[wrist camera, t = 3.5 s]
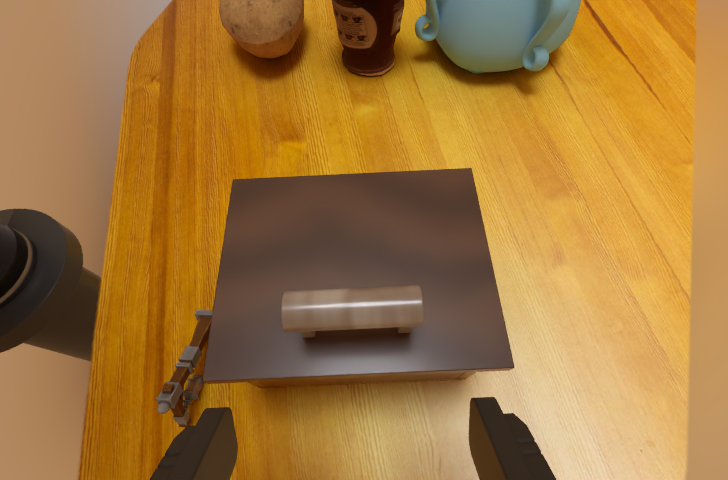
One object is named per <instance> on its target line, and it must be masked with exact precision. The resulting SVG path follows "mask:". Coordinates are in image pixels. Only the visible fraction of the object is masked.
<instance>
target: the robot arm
mask: <svg viewBox="0 0 728 480" xmlns="http://www.w3.org/2000/svg"><path fill="white" fill-rule="evenodd" d="M36 261H37V251H36V247H35V245H34V243H33V241H32V240H31V239H30V238H29V237H28V236H26V235H24V234H23V233H21V232H19V231H18V230H15V229H13V228H10V227H9V226H7V225H5V224H3V223H2V222H0V309H1V308H2V307H3V306H5V305H6V304H8V303H9V302H10V301H11V300H13V299H14V298H15V297H16V296H17V295H18V294H19V293H20V292H21V291H22V289H23V288H24V287H25V286H26V284H27V283H28V281H29V280H30V278H31V276H32V274H33V272H34V269H35V266H36ZM469 445H470V451H471V455H472V458H473V461H474V464H475V467H476V470H477V473H478V476H479V479H480V480H556V478H555V476H554V475H553V473H552V471H551V469H550V467H549V465H548V464H547V462H546V460H545V458H544V456H543V454H541V451H540V449H539V447H538V445H537V444H536V442H535V441H534V438H533V436H532V434H531V433H530V431H529V429H528V427H527V425H526V424H525V423H523V422H522V421H521V420H520V419H519V418H518V417H517V416H516V415H515V414H514V413H511V414H503V412H502V410H501V408H500V406H499V404H498V402H497V400H496V399H495V398H494V397H485V398H471V401H470V418H469ZM237 448H238V447H237V439H236V433H235V428H234V422H233V417H232V411H231V409H230V408H229V407H225V408H206V409H205V410H204V411H203V413H202V415H201V417H200V418H199V420H198V422H197V424H196V426H187V427H186V428H185V429H184V430H183V431H182V432H181V433H180V434H179V435H178V436H176V437H175V438H174V440H173V441H172V443H171V445H170V446H169V448H168V450H167V451H166V453H165V456H164V457H163V458H162V460H161V461H160V463H159V465H158V469H156V470H155V472H154V473H153V475H152V477H151V478H150V480H230V477H231V474H232V472H233V469H234V466H235V463H236V459H237Z"/></svg>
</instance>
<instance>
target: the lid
mask: <svg viewBox="0 0 728 480" xmlns="http://www.w3.org/2000/svg"><path fill="white" fill-rule="evenodd" d="M513 368H514V363H513V359H512V354H511V349H510V345H509V340H508V335H507V331H506V326H505V321H504V317H503V312H502V308H501V303H500V298H499V294H498V289H497V284H496V280H495V275H494V271H493V266H492V261H491V257H490V252H489V247H488V243H487V238H486V234H485V229H484V224H483V220H482V215H481V210H480V206H479V201H478V196H477V192H476V187H475V183H474V178H473V173H472V169H471V168H464V169H443V170H423V171H402V172H381V173H360V174H339V175H318V176H297V177H276V178H255V179H235V180H233V182H232V188H231V195H230V202H229V208H228V215H227V221H226V228H225V234H224V241H223V247H222V254H221V261H220V267H219V274H218V280H217V287H216V293H215V300H214V306H213V313H212V320H211V326H210V333H209V339H208V346H207V352H206V359H205V366H204V372H203V379H202V382H205V383H208V384H215V383H237V382H260V381H282V380H304V379H326V378H349V377H371V376H393V375H416V374H438V373H460V372H482V371H505V370H511V369H513Z"/></svg>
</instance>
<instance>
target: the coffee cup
mask: <svg viewBox="0 0 728 480" xmlns="http://www.w3.org/2000/svg"><path fill="white" fill-rule="evenodd" d="M332 4H333V9H334V15H335V19H336V24H337V30H338V36H339V39H340V41H341V43H342V45H343V48H344V49H343V52H342V60H343V63H344V65H345V66H346V67H347V68H348V69H349V70H350V71H352V72H354V73H357V74H360V75H367V76H373V75H382V74H384V73H385V72H387V71H389V70H390V69H391V67H393V66H394V63H395V55H394V51H393V46H394V42H395V38H396V35H397V33H398V32H399V31H400V23H401V19H402V14H403V9H404V0H332Z"/></svg>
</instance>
